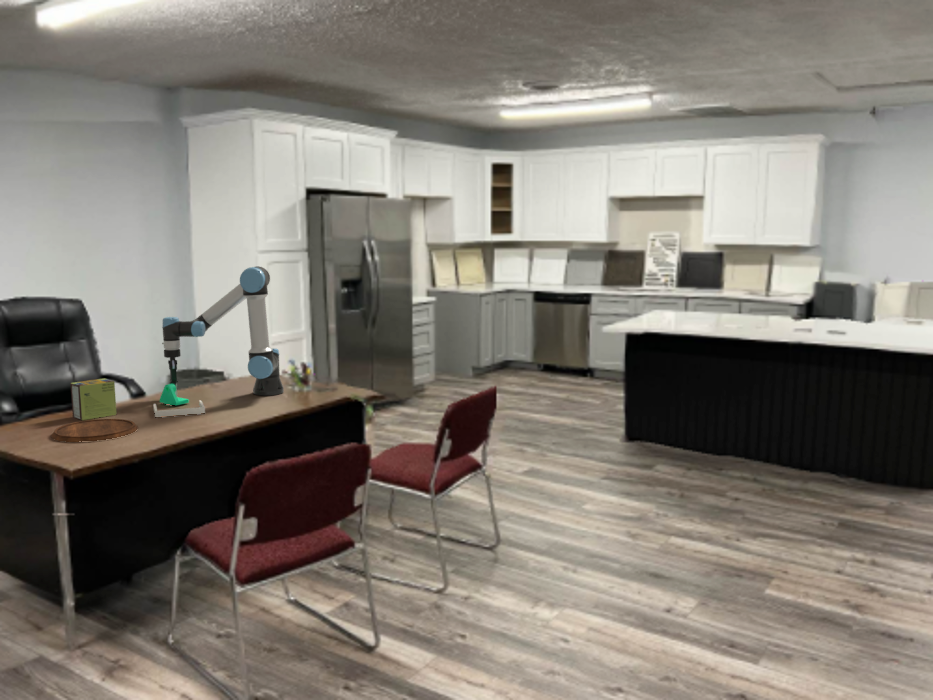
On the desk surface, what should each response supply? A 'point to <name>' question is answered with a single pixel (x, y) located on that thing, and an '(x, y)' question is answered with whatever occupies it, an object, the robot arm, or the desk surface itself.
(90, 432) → the cutting board
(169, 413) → the housing frame
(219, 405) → the desk surface
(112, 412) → the protein box
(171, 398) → the camera mount
